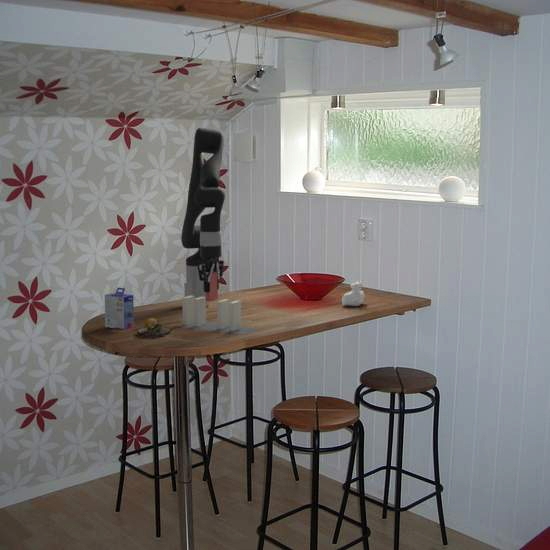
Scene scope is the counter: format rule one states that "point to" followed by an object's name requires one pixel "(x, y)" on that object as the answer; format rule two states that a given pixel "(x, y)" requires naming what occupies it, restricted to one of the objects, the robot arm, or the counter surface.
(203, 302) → the domino
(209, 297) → the red domino
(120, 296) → the ink cartridge box
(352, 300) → the duck figurine
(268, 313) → the counter surface
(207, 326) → the mat
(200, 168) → the robot arm
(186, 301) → the domino
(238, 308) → the domino
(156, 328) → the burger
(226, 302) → the domino
